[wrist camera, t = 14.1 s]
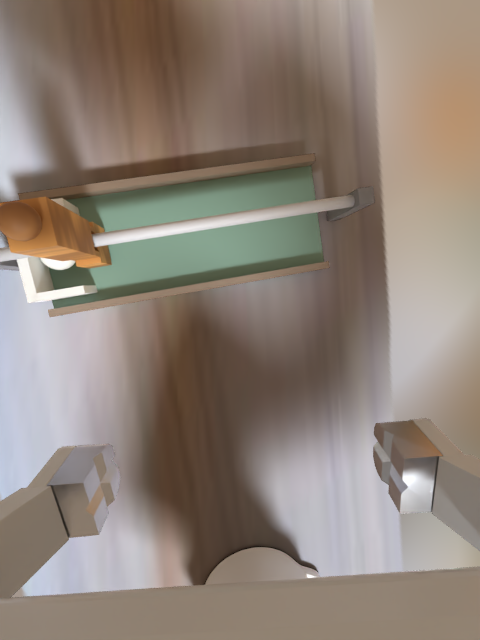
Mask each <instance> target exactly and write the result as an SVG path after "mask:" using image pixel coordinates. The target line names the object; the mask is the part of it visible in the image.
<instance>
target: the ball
mask: <svg viewBox="0 0 480 640" xmlns="http://www.w3.org/2000/svg"><path fill="white" fill-rule="evenodd" d="M40 259H41V261H42V262H43V263H44V264H45V265H46V266H48V267H50V268H52V269H55V270H65V269H68V268H70V267H71V266H73V265H74V263H75V261H73V260H68V261H58V260H52V259H46V258H40Z"/></svg>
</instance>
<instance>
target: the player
mask: <svg viewBox="0 0 480 640" xmlns="http://www.w3.org/2000/svg"><path fill="white" fill-rule="evenodd" d="M0 231H1V232H2V233H3V234H4V235H6V236H7V240H8V244H9V248H10V251H11V253H17V254H23V255H28V256H34V257H40V258H46V259H52V260H58V261H68V260H73V261H75V262H76V266H77V267H83V268H96V267H102V266H108V265H112V262H111V258H110V253H109V249H108V245H105V246H99V247H94V243H93V239H92V235H91V234H96V233H103V232H105V231H104V228H102V227H100V226H99V225H97V224H95V223H94V222H88V220H86V219H84V218H82V217H81V216H79V215H77V214H75V213H74V212H72V211H70V210H68V209H67V208H65V207H63V206H61V205H60V204H58V203H56V202H54V201H53V200H51V199H49V198H47V197H39V198H32V199H24V200H17V201H10V202H3V203H0Z"/></svg>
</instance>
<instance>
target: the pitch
mask: <svg viewBox="0 0 480 640" xmlns="http://www.w3.org/2000/svg"><path fill="white" fill-rule="evenodd" d="M315 161H316V160H315V153H313V154H306V155H298V156H291V157H284V158H276V159H269V160H262V161H254V162H247V163H240V164H232V165H225V166H218V167H210V168H203V169H195V170H188V171H181V172H173V173H166V174H159V175H151V176H144V177H137V178H129V179H122V180H115V181H107V182H100V183H93V184H85V185H78V186H70V187H63V188H56V189H48V190H41V191H34V192H26V193H19V194H18V195H19V199H20V200H24V199H32V198H39V197H47V198H49V199H51V200H53V201H54V202H56V203H58V204H60V205H61V206H63V207H65V208H67V209H68V210H70V211H72V212H74V213H75V214H77V215H79V216H81V217H82V218H84V219H86V220H88V222H94V223H95V224H97V225H99V226H100V227H102V228H104V231H105V232H103V233H96V234H91V235H92V239H93V243H94V247H99V246H105V245H108V249H109V253H110V258H111V262H112V265H108V266H102V267H96V268H83V267H77V266H76V262H75V263H74V265H73V266H71V267H70V268H68V269H65V270H55V269H52V268H50V267H48V266H46V265H45V264H44V263H43V262H42V261H41V259H40V257H34V256H28V255H23V254H17V253H11V251H10V248H9V247H4V248H0V269H3V270H16V271H19V270H20V274H21V278H22V282H23V286H24V289H25V293H26V297H27V301H28V303H33V302H42V301H52V302H53V306H54V309H50V310H48V312H49V316H50V317H54V316H59V315H65V314H71V313H76V312H82V311H88V310H93V309H99V308H105V307H110V306H116V305H122V304H127V303H133V302H139V301H144V300H150V299H156V298H161V297H167V296H173V295H178V294H184V293H190V292H195V291H201V290H207V289H212V288H218V287H224V286H229V285H235V284H241V283H246V282H252V281H258V280H263V279H269V278H275V277H280V276H286V275H292V274H297V273H303V272H309V271H314V270H320V269H326V268H330V266H329V261H326V262H324V258H323V251H322V244H321V236H320V229H319V221H318V214H317V212H322V211H326V212H327V219H328V221H332V220H338V219H341V218H343V217H346V216H348V215H350V214H352V213H354V212H356V211H358V210H360V209H363V208H365V207H367V206H369V205H371V204H373V203H375V199H374V190H373V186H371V187H365V188H358V189H356V190H355V191H353V192H351V193H350V194H348V195H346V196H340V197H333V198H326V199H320V200H316V199H315V192H314V184H313V177H312V169H311V165H312V164H313V163H314V162H315Z"/></svg>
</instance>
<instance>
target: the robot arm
mask: <svg viewBox="0 0 480 640" xmlns="http://www.w3.org/2000/svg"><path fill="white" fill-rule="evenodd" d="M374 436H375V437H376V439H377V440H378V442H377V443H376V444H375V446H374V447H373V457H374V463H375V467H376V470H377V472H378V474H379V476H380V478H381V480H382V481H383V482H385V483H387V484H388V485H389V495H390V496H391V498H392V500H393V502H394V504H395V505H396V507H397V509H398V511H399V513H421V512H432V514H433V515H434V516H436V517H437V518H438V519H439V520H441V521H442V522H443V523H445V524H446V525H447V526H448V527H450V528H451V529H452V530H453V531H455V532H456V533H457V534H459V535H460V536H461V537H463V538H464V539H465V540H466V541H468V542H469V543H470V544H471V545H473V546H474V547H475V548H477V549H478V550H479V551H480V459H479V458H477V457H474V456H472V455H464V454H463V453H462V452H461V451H460V450H459V449H458V448H457V447H456V446H455V445H454V444H453V443H452V442H451V441H450V440H449V438H448V437H447V436H446V435H445V434H444V433H443V432H442V431H441V430H440V429H439V428H438V427H437V426H436V425H435V424H434V423H433V422H432V421H431V420H430V419H427V418H422V419H412V420H408V421H396V422H384V423H376V424H375V427H374ZM114 456H115V452H114V449H113V446H112V445H110V444H96V445H79V446H65V447H61V448H59V449H58V450H57V451H56V452H55V453H54V455H53V456H52V457H51V458H50V460H49V461H48V462H47V463H46V465H45V466H44V467H43V468H42V470H41V471H40V472H39V473H38V474H37V476H36V477H35V478H34V479H33V481H32V482H31V483H30V484H29V486H28V487H27V488H21V489H19V490H18V491H16V492H15V493H13V494H11V495H10V496H8V497H7V498H5V499H4V500H2V501H0V640H480V567H465V568H451V569H435V570H422V571H421V570H420V571H405V572H390V573H374V574H359V575H344V576H329V577H319V574H318V572H317V571H316V570H314V569H311V568H308V567H304V566H301V565H299V564H298V563H297V562H296V561H295V560H293V559H292V558H291V557H290V556H289V555H287V554H285V553H284V552H281V551H279V550H276V549H272V548H266V547H256V548H249V549H245V550H242V551H239V552H237V553H234V554H232V555H231V556H229V557H227V558H226V559H224V560H223V561H222V562H221V563H220V564H219V565H218V566H217V567H216V568H215V569H214V570H213V571H212V573H211V574H210V576H209V577H208V579H207V581H206V583H205V585H193V586H178V587H163V588H148V589H133V590H118V591H103V592H88V593H73V594H57V595H42V596H27V597H14V598H13V597H12V596H13V595H14V594H15V593H16V592H17V591H18V590H19V589H20V588H21V587H22V586H23V585H24V584H25V583H26V582H27V581H28V580H29V579H30V578H31V577H32V576H33V575H34V574H35V573H36V572H37V571H38V570H39V569H40V568H41V567H42V566H43V565H44V564H45V563H46V562H47V561H48V560H49V559H50V558H51V557H52V556H53V555H54V554H55V553H56V552H57V551H58V550H59V549H60V548H61V547H62V546H63V545H64V544H65V543H66V542H67V541H68V540H69V538H72V537H82V536H91V535H99V534H100V532H101V529H102V527H103V525H104V523H105V520H106V518H107V516H108V514H109V512H108V509H107V506H108V505H109V504H111V503H112V502H113V501H114V500H115V498H116V496H117V493H118V490H119V485H120V472H119V468H118V466H117V465H116V464H115V463H114V462H113V461H112V460H113V458H114ZM11 597H12V598H11Z"/></svg>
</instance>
